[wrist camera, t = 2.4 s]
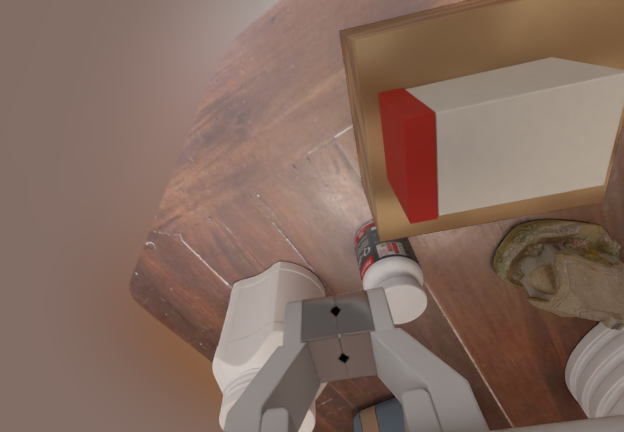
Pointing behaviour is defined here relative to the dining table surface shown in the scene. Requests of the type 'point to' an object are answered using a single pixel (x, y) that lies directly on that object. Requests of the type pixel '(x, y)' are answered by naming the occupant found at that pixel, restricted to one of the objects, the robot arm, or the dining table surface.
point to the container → (500, 135)
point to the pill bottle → (391, 272)
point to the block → (462, 62)
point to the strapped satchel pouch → (381, 418)
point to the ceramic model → (565, 269)
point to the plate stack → (598, 372)
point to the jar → (260, 329)
